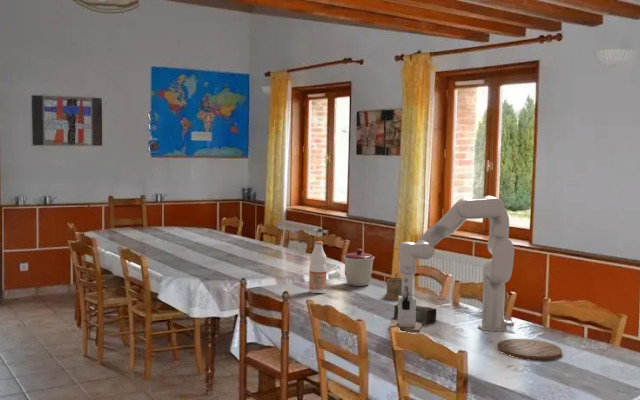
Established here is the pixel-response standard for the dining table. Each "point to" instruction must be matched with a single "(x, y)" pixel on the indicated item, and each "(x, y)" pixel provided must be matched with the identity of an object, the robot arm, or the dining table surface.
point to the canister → (358, 268)
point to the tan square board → (411, 329)
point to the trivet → (529, 349)
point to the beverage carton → (421, 314)
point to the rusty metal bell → (394, 287)
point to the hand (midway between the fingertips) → (407, 307)
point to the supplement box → (407, 313)
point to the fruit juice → (317, 269)
